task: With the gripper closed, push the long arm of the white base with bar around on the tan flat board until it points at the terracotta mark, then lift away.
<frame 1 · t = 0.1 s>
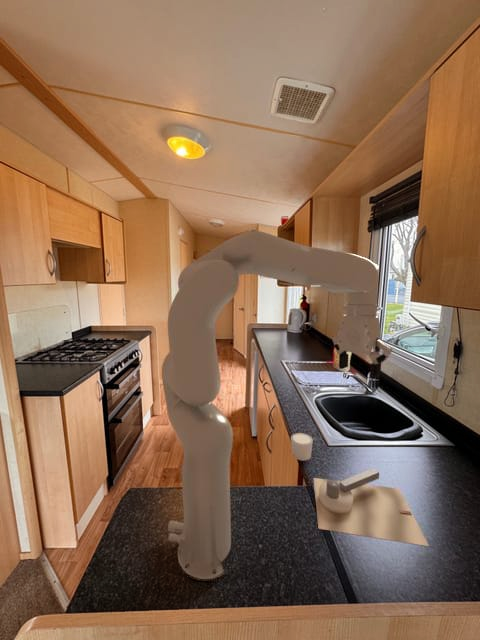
hand: (358, 372, 74), 31 cm above the worktop, tool pointing down, fingers open, 9 cm apart
white short cylinder: (301, 459, 86), on the worktop
tan flat board: (362, 512, 65), on the worktop
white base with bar: (350, 485, 69), point 4 cm above the worktop, hinge at 35.0°
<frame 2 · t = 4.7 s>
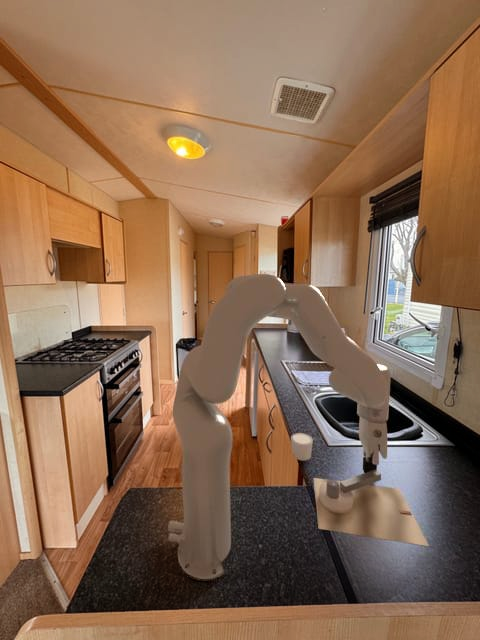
hand: (369, 472, 75), 3 cm above the worktop, tool pointing down, fingers closed
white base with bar: (351, 486, 68), point 4 cm above the worktop, hinge at 32.5°, touching gripper
everything else where it was.
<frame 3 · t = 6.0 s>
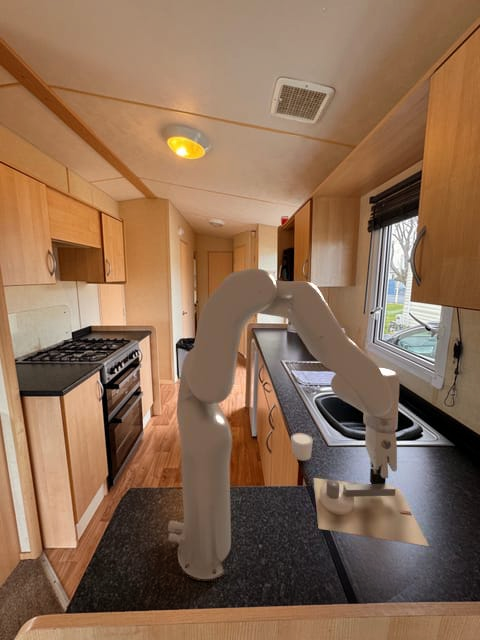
hand: (377, 484, 69), 4 cm above the worktop, tool pointing down, fingers closed
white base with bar: (356, 492, 66), point 4 cm above the worktop, hinge at 12.0°, touching gripper
everything else where it was.
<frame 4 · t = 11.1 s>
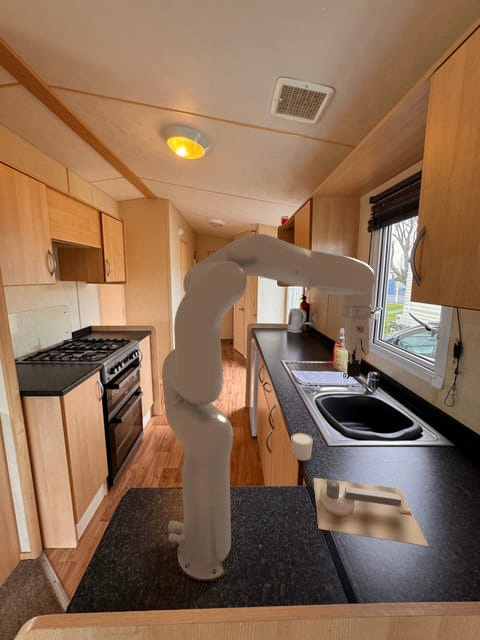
hand: (353, 375, 77), 29 cm above the worktop, tool pointing down, fingers closed
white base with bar: (358, 496, 65), point 4 cm above the worktop, hinge at -0.7°
everything else where it was.
at the end: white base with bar at -1° (first picture: +35°); white short cylinder moved 0.2 cm from its start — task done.
